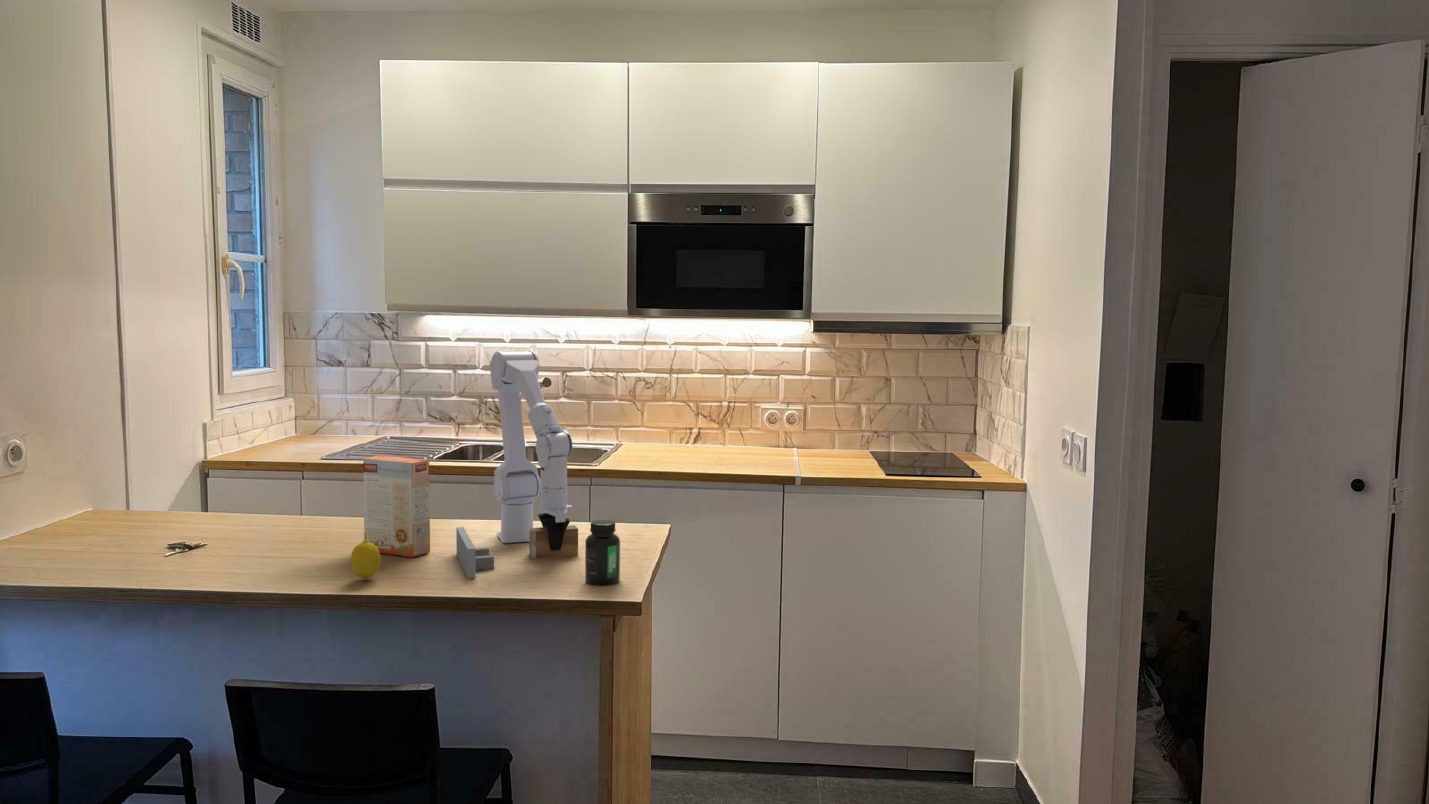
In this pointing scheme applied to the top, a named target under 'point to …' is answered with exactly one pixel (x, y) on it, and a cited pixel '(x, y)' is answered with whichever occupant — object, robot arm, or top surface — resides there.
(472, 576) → the grey plank with pegs
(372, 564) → the lemon
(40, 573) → the top surface
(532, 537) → the block
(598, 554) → the supplement bottle
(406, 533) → the cracker box
